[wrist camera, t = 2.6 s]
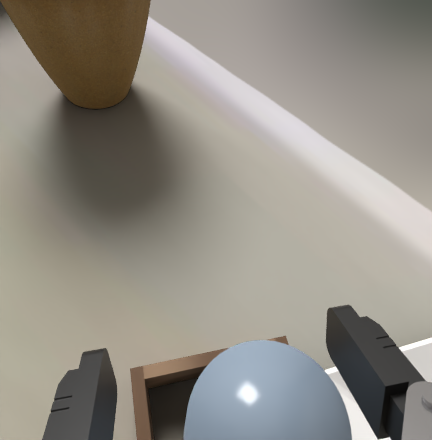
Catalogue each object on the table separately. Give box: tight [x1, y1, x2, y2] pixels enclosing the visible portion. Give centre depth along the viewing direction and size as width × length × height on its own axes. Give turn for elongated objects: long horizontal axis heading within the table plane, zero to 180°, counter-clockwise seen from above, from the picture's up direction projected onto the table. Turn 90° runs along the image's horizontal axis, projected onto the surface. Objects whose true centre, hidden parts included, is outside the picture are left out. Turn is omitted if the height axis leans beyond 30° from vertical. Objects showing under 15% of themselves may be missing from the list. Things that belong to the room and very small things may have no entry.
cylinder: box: [183, 340, 352, 440], centre depth 19 cm, size 6×6×15 cm
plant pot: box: [0, 0, 151, 109], centre depth 37 cm, size 15×15×16 cm
